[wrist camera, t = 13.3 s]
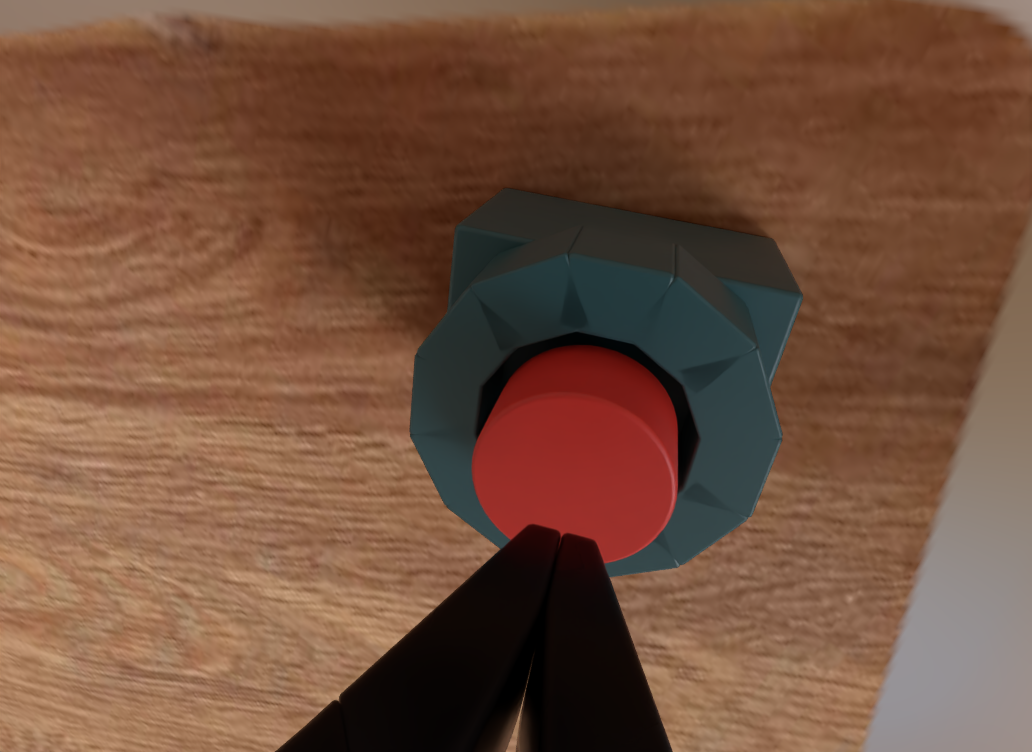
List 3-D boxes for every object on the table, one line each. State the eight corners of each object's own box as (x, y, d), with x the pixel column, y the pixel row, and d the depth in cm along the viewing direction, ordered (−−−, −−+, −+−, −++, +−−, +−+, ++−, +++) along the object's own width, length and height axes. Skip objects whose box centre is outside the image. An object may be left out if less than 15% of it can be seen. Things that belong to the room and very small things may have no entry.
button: (698, 366, 10) (703, 422, 8) (653, 516, 11) (649, 588, 10) (510, 325, 10) (482, 371, 9) (488, 475, 12) (460, 538, 10)
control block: (782, 217, 14) (840, 307, 9) (705, 448, 16) (716, 613, 12) (506, 165, 14) (420, 223, 10) (477, 394, 17) (398, 528, 12)
